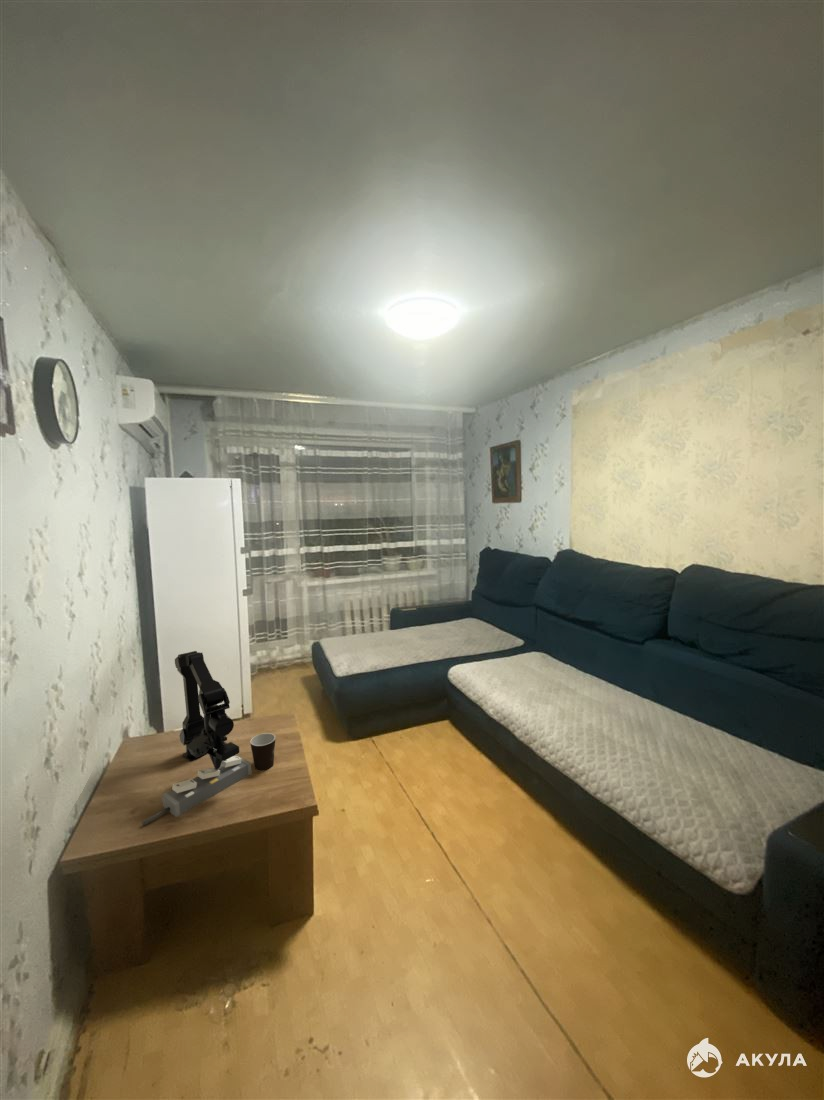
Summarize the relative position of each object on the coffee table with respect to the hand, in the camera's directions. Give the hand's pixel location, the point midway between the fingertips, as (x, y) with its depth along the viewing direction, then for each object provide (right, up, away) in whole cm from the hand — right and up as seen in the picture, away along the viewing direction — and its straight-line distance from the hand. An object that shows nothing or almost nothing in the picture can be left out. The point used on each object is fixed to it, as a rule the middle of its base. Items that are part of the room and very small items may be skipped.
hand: (217, 768), depth 148 cm
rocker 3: (+3, 0, +4) cm, 5 cm away
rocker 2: (-2, -1, -2) cm, 3 cm away
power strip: (-4, -6, -5) cm, 9 cm away
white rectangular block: (-6, -1, -9) cm, 11 cm away
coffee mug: (+12, -5, +13) cm, 18 cm away
